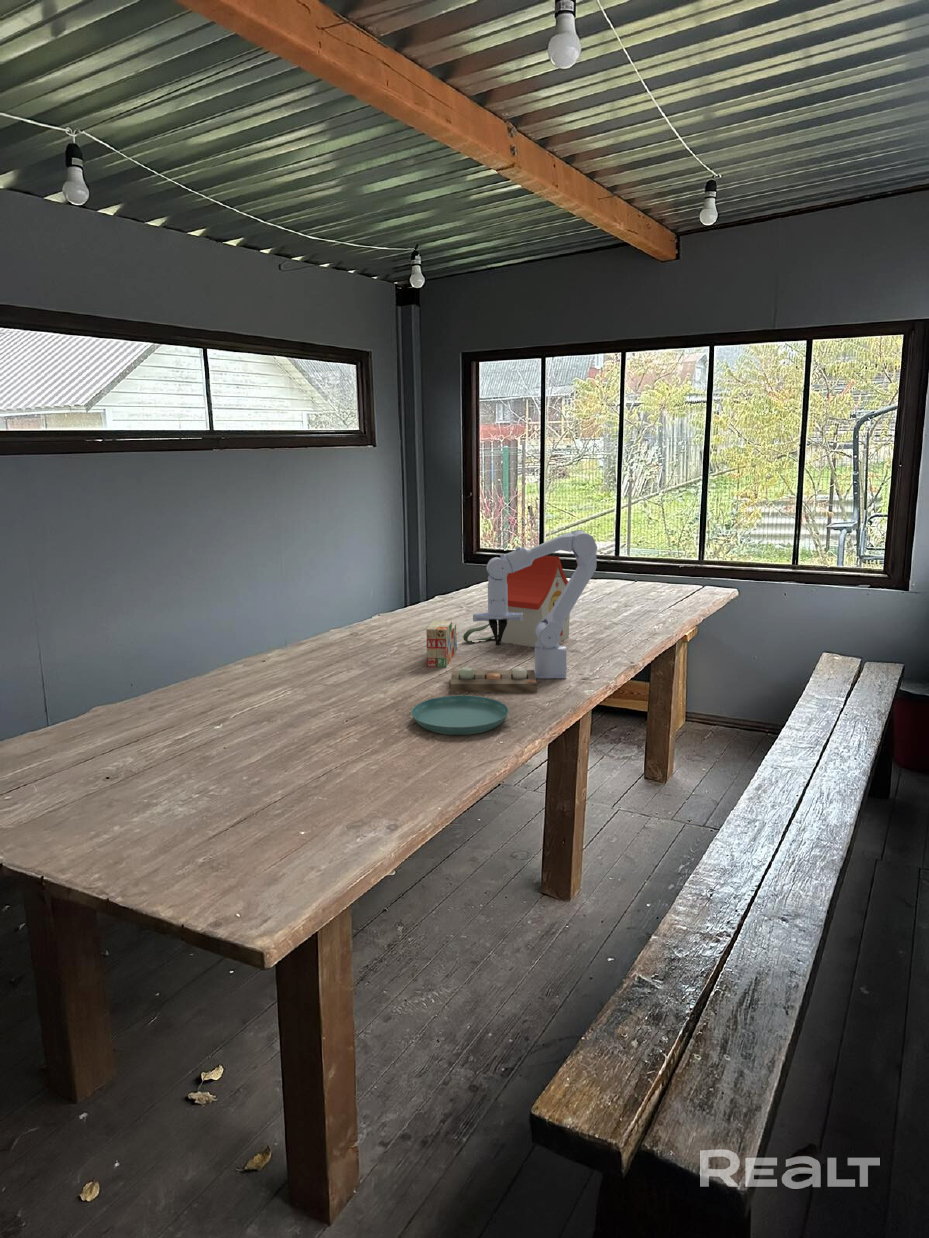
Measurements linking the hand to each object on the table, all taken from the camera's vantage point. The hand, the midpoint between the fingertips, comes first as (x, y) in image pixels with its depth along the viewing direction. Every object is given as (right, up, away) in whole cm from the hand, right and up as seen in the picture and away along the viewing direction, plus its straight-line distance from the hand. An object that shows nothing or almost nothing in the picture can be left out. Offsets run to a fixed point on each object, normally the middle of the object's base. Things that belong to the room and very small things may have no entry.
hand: (498, 644), depth 247 cm
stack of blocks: (-17, -5, +23) cm, 29 cm away
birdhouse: (+11, 0, +49) cm, 50 cm away
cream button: (+6, -10, -7) cm, 13 cm away
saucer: (-11, -18, -37) cm, 43 cm away
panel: (-2, -11, -7) cm, 13 cm away
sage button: (-9, -10, -7) cm, 15 cm away
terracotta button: (-2, -11, -7) cm, 13 cm away
